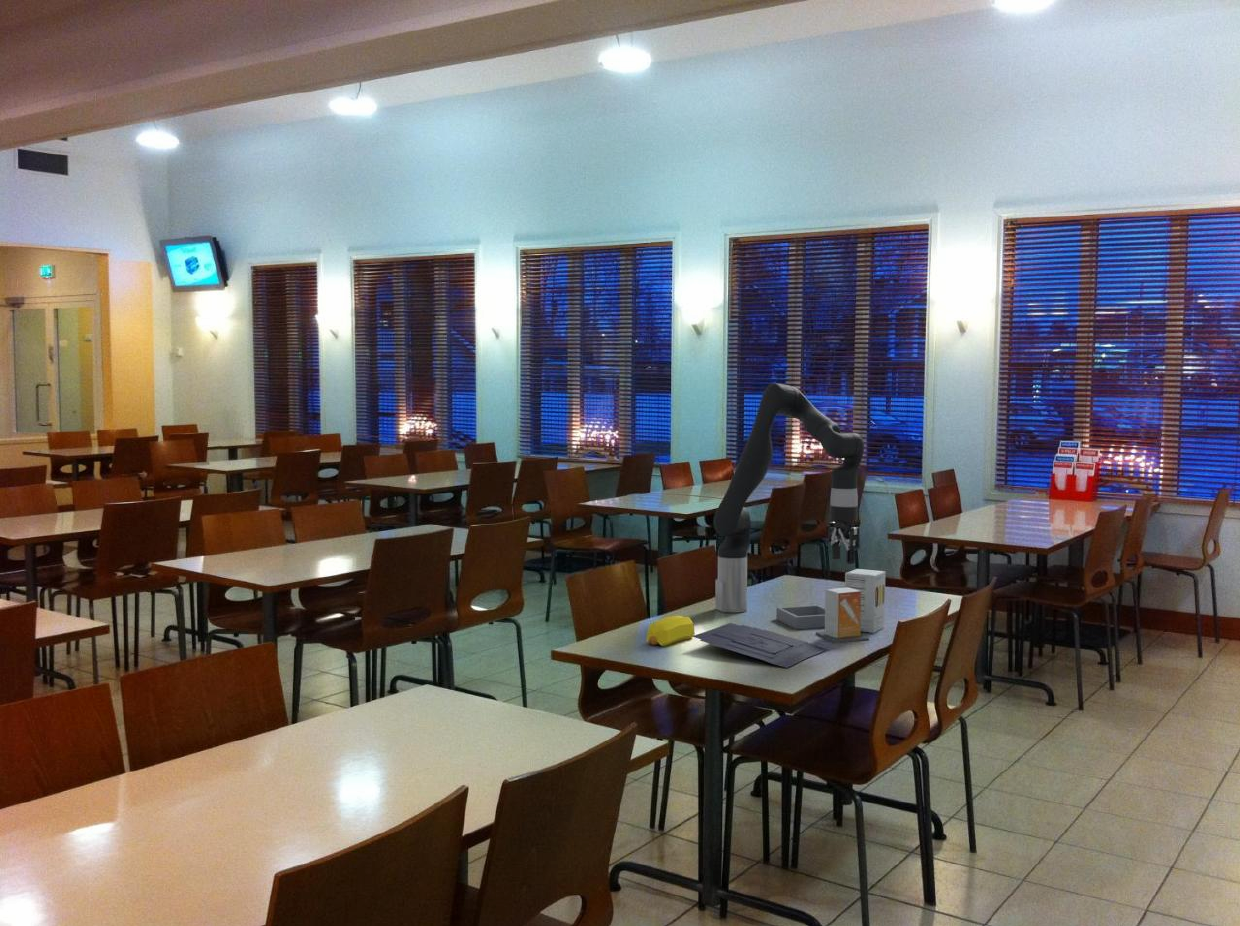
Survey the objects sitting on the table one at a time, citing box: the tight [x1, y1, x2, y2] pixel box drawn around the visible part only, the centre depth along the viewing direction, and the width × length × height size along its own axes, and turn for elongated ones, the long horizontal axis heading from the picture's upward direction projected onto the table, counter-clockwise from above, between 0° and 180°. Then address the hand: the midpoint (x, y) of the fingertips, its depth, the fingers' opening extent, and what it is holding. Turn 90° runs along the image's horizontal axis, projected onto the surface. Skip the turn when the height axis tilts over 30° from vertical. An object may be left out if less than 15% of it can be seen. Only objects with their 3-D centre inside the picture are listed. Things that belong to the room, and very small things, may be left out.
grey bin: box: [775, 604, 825, 630], centre depth 329 cm, size 14×14×4 cm
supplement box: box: [844, 568, 886, 634], centre depth 321 cm, size 10×9×17 cm
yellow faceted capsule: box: [646, 614, 696, 647], centre depth 306 cm, size 18×7×8 cm
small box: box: [824, 587, 861, 638], centre depth 310 cm, size 8×6×13 cm
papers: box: [692, 622, 829, 669], centre depth 295 cm, size 24×30×4 cm
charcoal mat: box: [815, 630, 870, 644], centre depth 310 cm, size 11×11×1 cm
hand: (843, 561), depth 309 cm, fingers open, 8 cm apart
